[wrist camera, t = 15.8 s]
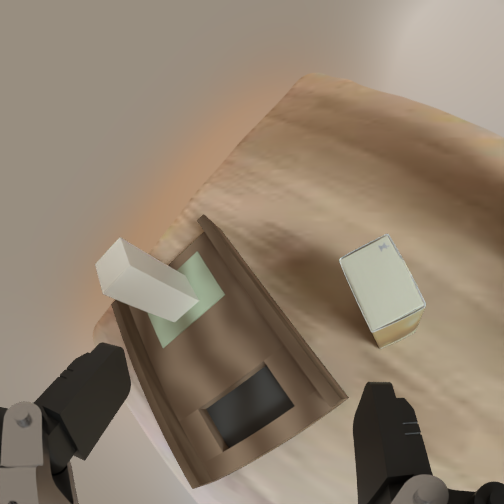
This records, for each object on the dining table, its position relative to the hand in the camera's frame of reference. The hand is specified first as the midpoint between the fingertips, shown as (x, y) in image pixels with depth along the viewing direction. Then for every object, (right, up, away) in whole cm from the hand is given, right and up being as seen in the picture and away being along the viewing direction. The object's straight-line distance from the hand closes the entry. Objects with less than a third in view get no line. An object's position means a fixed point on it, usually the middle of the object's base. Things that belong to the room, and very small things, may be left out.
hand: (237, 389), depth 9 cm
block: (-9, -2, +31) cm, 32 cm away
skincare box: (+15, -2, +21) cm, 26 cm away
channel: (-3, -8, +27) cm, 29 cm away
